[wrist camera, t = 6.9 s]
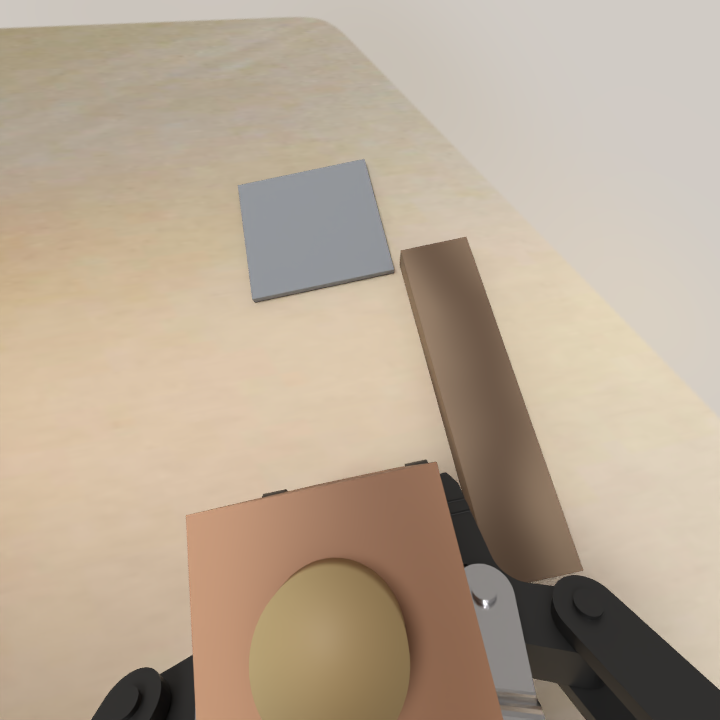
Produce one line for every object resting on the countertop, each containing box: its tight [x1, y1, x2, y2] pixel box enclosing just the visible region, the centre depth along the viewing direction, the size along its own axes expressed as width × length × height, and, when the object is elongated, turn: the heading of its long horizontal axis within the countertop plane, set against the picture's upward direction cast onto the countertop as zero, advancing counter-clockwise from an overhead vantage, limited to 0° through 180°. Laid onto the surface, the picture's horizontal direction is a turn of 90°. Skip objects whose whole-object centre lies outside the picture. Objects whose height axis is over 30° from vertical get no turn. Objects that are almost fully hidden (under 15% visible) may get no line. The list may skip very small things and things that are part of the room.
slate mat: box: [238, 159, 394, 302], centre depth 24 cm, size 9×9×1 cm
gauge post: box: [186, 462, 503, 720], centre depth 10 cm, size 4×4×13 cm
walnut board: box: [400, 237, 583, 583], centre depth 19 cm, size 4×18×2 cm, turn 12°
